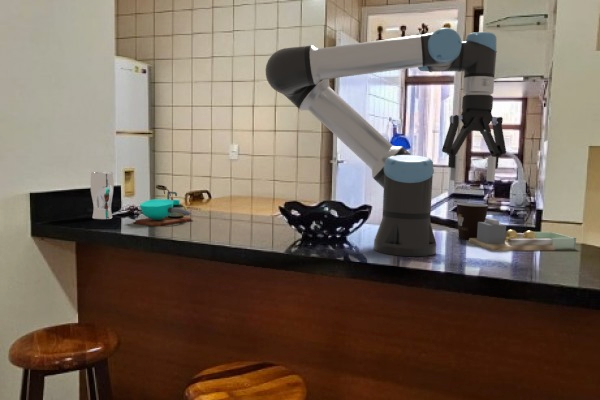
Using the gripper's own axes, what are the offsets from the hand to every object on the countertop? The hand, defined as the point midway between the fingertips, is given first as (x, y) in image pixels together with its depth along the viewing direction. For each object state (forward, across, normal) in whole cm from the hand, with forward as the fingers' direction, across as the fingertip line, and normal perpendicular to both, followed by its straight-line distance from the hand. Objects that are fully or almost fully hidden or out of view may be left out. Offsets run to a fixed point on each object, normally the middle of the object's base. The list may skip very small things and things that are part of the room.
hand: (472, 180), depth 139 cm
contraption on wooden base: (+18, -80, +42) cm, 92 cm away
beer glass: (+18, -101, +51) cm, 115 cm away
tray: (+18, +25, 0) cm, 31 cm away
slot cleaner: (+16, +6, 0) cm, 18 cm away
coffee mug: (+18, +8, +13) cm, 23 cm away
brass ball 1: (+15, +13, +1) cm, 20 cm away
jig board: (+18, +12, 0) cm, 22 cm away
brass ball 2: (+15, +18, -1) cm, 23 cm away
